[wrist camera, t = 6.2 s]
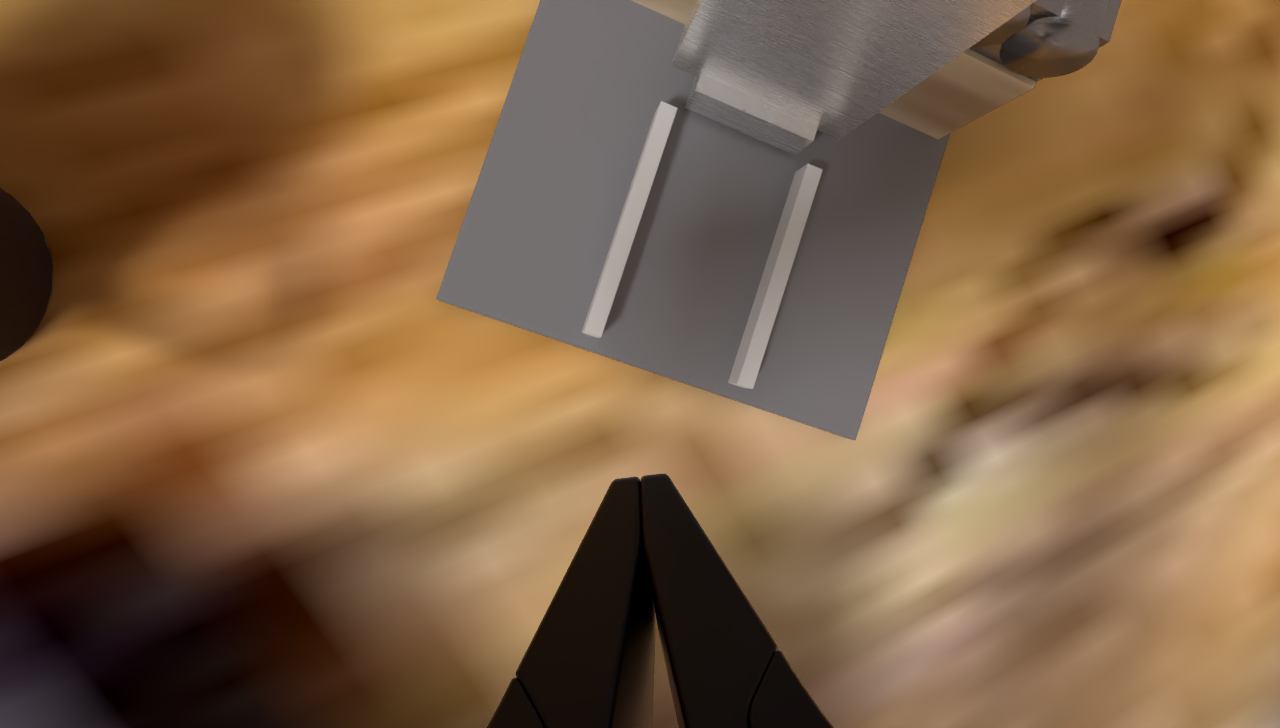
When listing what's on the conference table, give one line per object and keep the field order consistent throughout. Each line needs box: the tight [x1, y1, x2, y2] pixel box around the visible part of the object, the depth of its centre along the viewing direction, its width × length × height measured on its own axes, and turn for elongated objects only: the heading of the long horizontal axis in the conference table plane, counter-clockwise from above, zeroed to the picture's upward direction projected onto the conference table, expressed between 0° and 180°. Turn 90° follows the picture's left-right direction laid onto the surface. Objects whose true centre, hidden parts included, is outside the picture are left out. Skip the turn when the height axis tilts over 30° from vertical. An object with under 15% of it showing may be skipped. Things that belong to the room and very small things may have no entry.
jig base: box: [436, 0, 950, 440], centre depth 21 cm, size 15×16×2 cm
